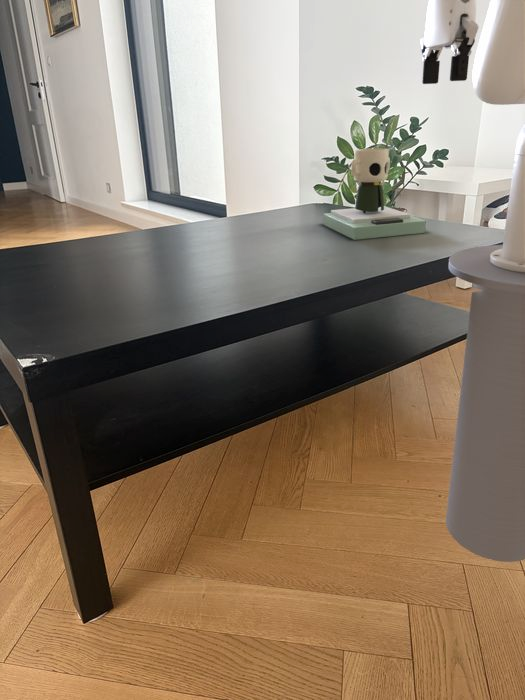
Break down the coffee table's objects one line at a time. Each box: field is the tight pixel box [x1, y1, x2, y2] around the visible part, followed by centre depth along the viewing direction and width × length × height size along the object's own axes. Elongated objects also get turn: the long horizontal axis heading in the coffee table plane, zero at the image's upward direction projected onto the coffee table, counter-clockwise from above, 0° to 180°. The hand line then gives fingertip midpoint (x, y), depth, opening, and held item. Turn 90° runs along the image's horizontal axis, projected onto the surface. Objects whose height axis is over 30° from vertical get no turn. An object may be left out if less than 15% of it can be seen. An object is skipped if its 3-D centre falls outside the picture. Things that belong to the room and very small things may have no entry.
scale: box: [322, 205, 427, 241], centre depth 120 cm, size 18×16×3 cm
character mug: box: [350, 147, 391, 213], centre depth 118 cm, size 11×7×13 cm, turn 124°
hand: (443, 82), depth 105 cm, fingers open, 9 cm apart
